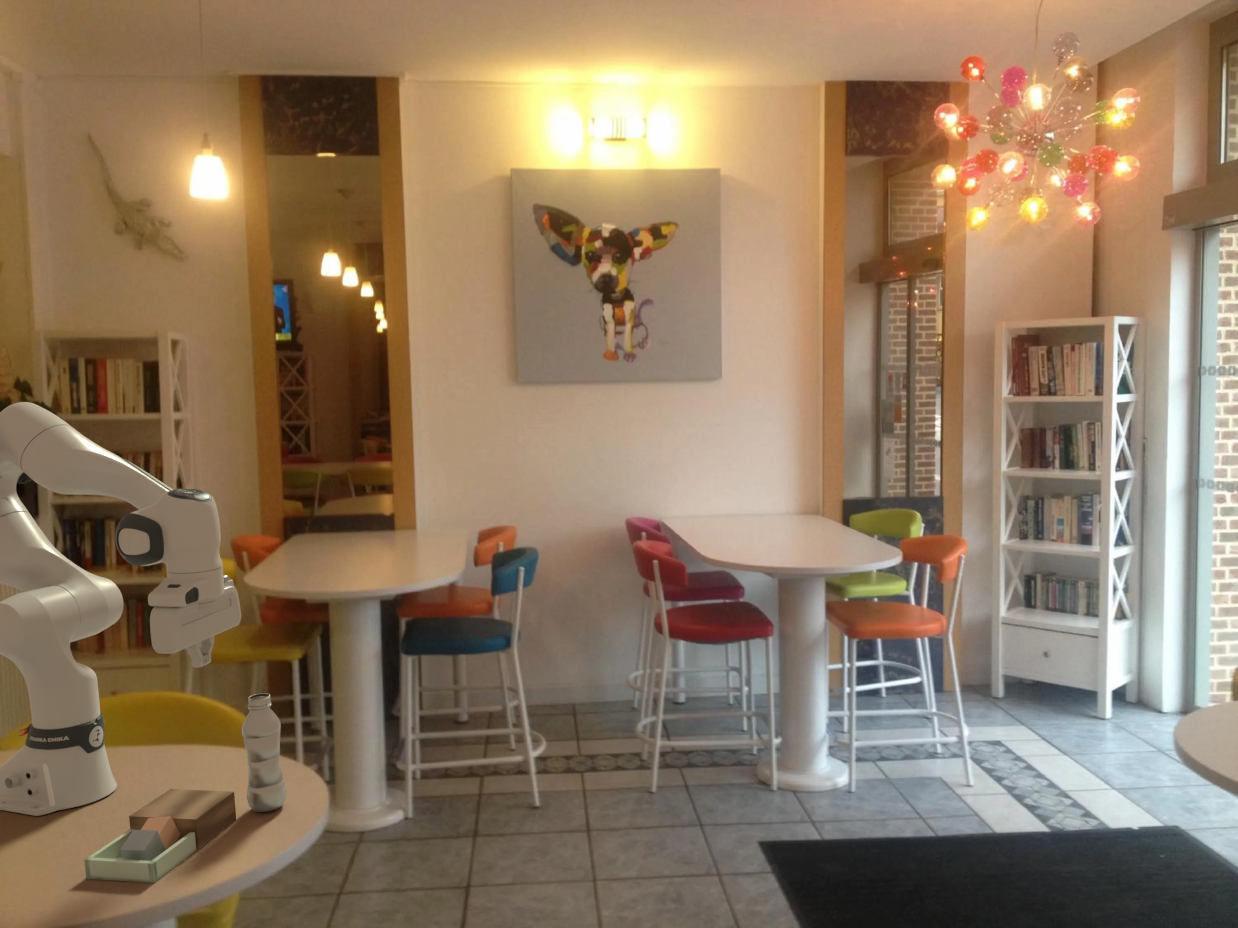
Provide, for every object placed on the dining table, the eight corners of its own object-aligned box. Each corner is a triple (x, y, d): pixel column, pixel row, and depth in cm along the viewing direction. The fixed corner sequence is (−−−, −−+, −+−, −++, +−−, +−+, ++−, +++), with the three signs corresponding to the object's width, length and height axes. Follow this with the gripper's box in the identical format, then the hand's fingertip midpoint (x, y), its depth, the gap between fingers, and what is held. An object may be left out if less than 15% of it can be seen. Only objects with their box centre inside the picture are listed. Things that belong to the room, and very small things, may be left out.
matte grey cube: (140, 848, 167) (127, 868, 163) (133, 829, 165) (119, 849, 161) (164, 848, 166) (151, 869, 163) (157, 830, 164) (143, 850, 161)
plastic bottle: (295, 802, 187) (287, 691, 185) (271, 818, 180) (262, 703, 179) (264, 799, 189) (256, 689, 187) (239, 814, 183) (230, 701, 181)
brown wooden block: (131, 845, 172) (129, 815, 172) (173, 816, 183) (170, 788, 182) (198, 849, 170) (196, 819, 169) (236, 819, 180) (234, 791, 180)
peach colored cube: (135, 837, 166) (148, 817, 169) (146, 855, 167) (158, 836, 171) (158, 835, 165) (170, 815, 168) (168, 853, 167) (180, 834, 170)
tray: (86, 878, 161) (84, 859, 161) (131, 846, 172) (130, 828, 172) (154, 882, 159) (152, 863, 159) (196, 850, 169) (194, 832, 169)
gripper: (215, 572, 190) (221, 647, 192) (140, 598, 170) (146, 682, 172) (247, 572, 189) (252, 649, 190) (175, 599, 169) (181, 683, 170)
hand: (201, 665), depth 181 cm, fingers closed
